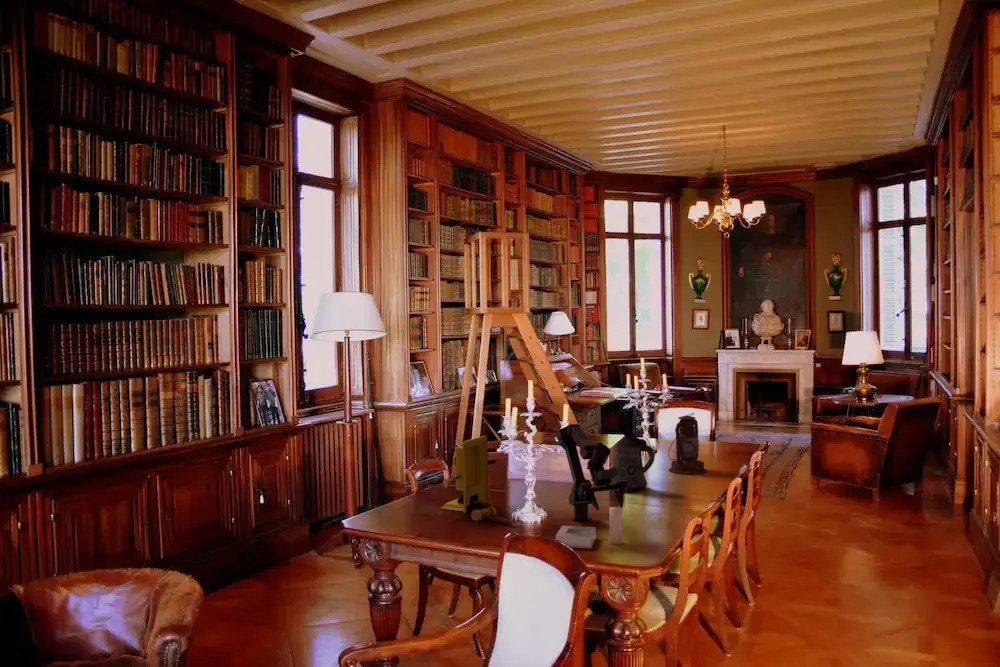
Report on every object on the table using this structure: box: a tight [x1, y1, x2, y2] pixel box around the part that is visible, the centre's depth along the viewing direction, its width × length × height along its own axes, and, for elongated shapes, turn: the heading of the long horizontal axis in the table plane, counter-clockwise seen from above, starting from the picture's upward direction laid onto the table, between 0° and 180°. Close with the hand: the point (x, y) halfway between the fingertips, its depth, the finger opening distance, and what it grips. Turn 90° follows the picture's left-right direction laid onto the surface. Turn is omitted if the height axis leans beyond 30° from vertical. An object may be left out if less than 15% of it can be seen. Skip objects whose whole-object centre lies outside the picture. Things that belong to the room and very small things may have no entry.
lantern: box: [667, 412, 708, 476], centre depth 397 cm, size 19×19×30 cm
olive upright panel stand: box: [440, 435, 494, 514], centre depth 336 cm, size 31×14×30 cm, turn 149°
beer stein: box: [610, 434, 656, 494], centre depth 361 cm, size 16×19×25 cm
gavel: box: [471, 506, 517, 528], centre depth 309 cm, size 21×5×10 cm
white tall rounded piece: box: [608, 505, 623, 546], centre depth 278 cm, size 4×4×12 cm
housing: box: [555, 525, 597, 549], centre depth 280 cm, size 12×12×4 cm
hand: (610, 508), depth 283 cm, fingers open, 9 cm apart
